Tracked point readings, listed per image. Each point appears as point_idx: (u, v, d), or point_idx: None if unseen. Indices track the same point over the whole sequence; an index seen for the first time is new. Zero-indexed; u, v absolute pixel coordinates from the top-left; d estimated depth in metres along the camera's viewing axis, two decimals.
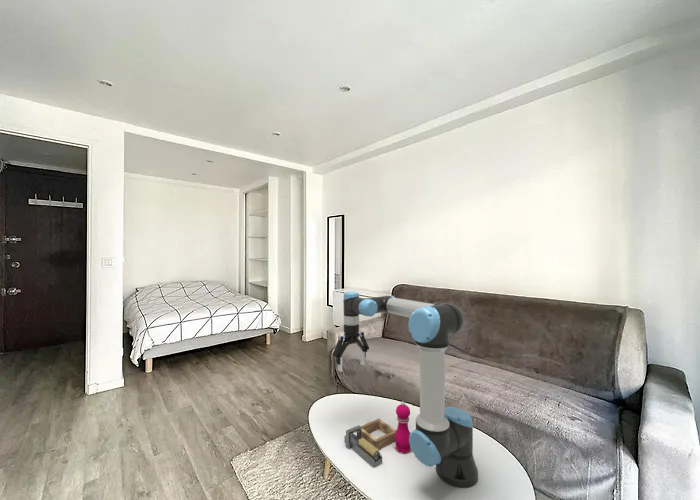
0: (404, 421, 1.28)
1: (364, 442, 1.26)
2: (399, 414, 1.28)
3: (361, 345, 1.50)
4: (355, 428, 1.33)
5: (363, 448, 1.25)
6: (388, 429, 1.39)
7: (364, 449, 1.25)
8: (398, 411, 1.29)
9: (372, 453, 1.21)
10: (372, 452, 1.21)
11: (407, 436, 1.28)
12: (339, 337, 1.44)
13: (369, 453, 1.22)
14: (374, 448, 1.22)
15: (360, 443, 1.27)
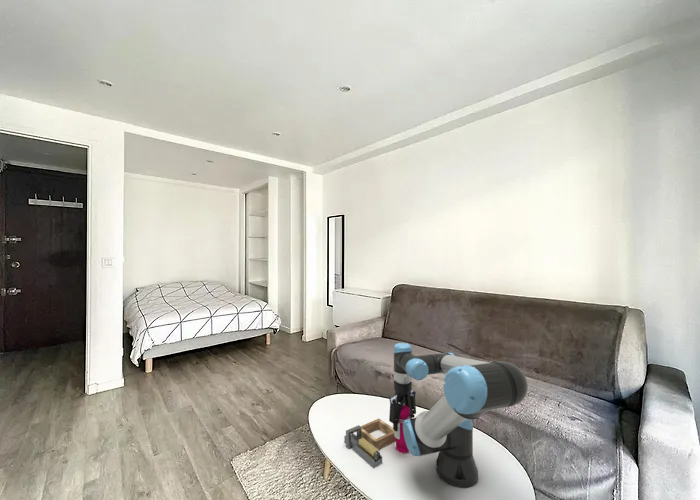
0: None
1: (364, 442, 1.26)
2: None
3: (410, 408, 1.31)
4: (355, 428, 1.33)
5: (363, 448, 1.25)
6: (388, 429, 1.39)
7: (364, 449, 1.25)
8: None
9: (372, 453, 1.21)
10: (372, 452, 1.21)
11: None
12: (391, 401, 1.27)
13: (369, 453, 1.22)
14: (374, 448, 1.22)
15: (360, 443, 1.27)
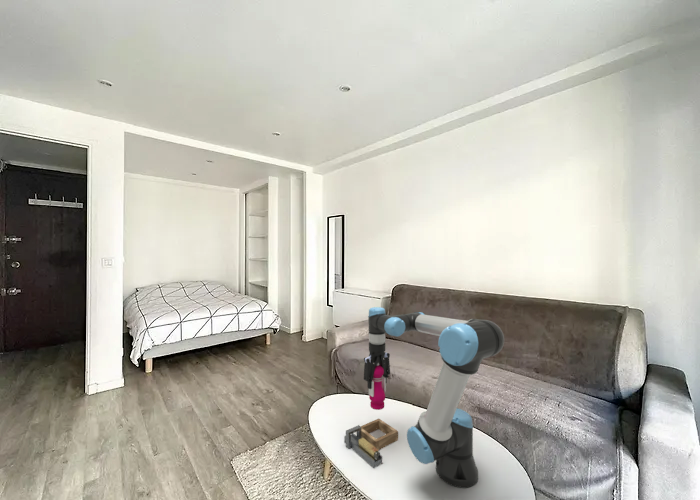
0: (378, 380, 1.35)
1: (364, 442, 1.26)
2: None
3: (384, 368, 1.39)
4: (355, 428, 1.33)
5: (363, 448, 1.25)
6: (388, 429, 1.39)
7: (364, 449, 1.25)
8: None
9: (372, 453, 1.21)
10: (372, 452, 1.21)
11: (380, 394, 1.35)
12: (365, 360, 1.34)
13: (369, 453, 1.22)
14: (374, 448, 1.22)
15: (360, 443, 1.27)
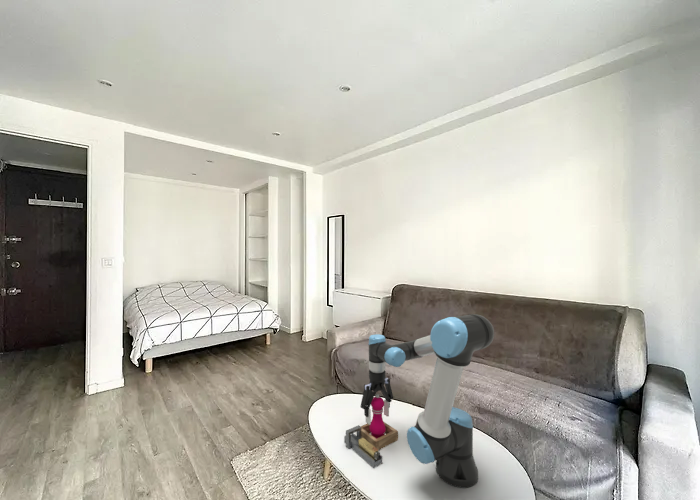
0: (378, 412, 1.35)
1: (364, 442, 1.26)
2: (373, 405, 1.35)
3: (386, 394, 1.39)
4: (355, 428, 1.33)
5: (363, 448, 1.25)
6: (388, 429, 1.39)
7: (364, 449, 1.25)
8: (372, 403, 1.36)
9: (372, 453, 1.21)
10: (372, 452, 1.21)
11: (381, 426, 1.35)
12: (365, 387, 1.34)
13: (369, 453, 1.22)
14: (374, 448, 1.22)
15: (360, 443, 1.27)
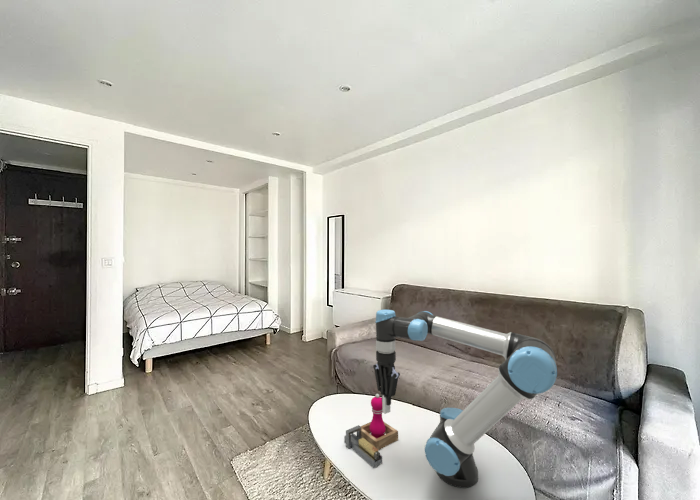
0: (378, 412, 1.35)
1: (364, 442, 1.26)
2: (373, 405, 1.35)
3: (386, 385, 1.16)
4: (355, 428, 1.33)
5: (363, 448, 1.25)
6: (388, 429, 1.39)
7: (364, 449, 1.25)
8: (372, 403, 1.36)
9: (372, 453, 1.21)
10: (372, 452, 1.21)
11: (381, 426, 1.35)
12: None
13: (369, 453, 1.22)
14: (374, 448, 1.22)
15: (360, 443, 1.27)
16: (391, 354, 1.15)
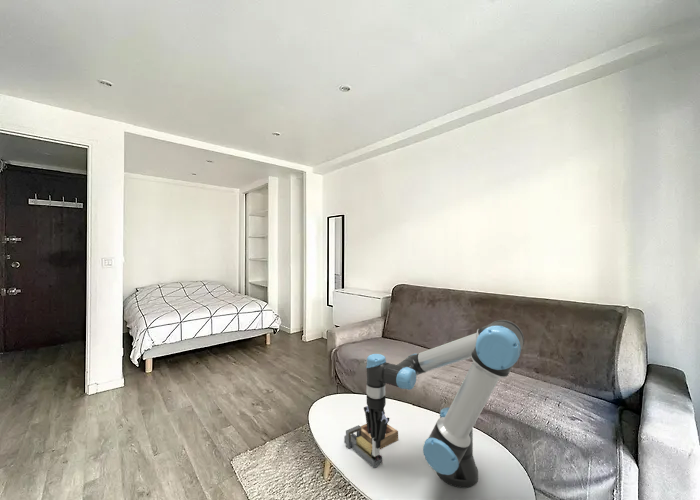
0: None
1: (362, 440, 1.28)
2: None
3: (375, 429, 1.19)
4: (355, 428, 1.33)
5: (361, 446, 1.27)
6: (388, 429, 1.39)
7: (362, 447, 1.26)
8: None
9: (369, 451, 1.22)
10: (369, 450, 1.22)
11: None
12: None
13: (366, 451, 1.24)
14: (371, 446, 1.24)
15: (358, 441, 1.28)
16: (381, 399, 1.18)
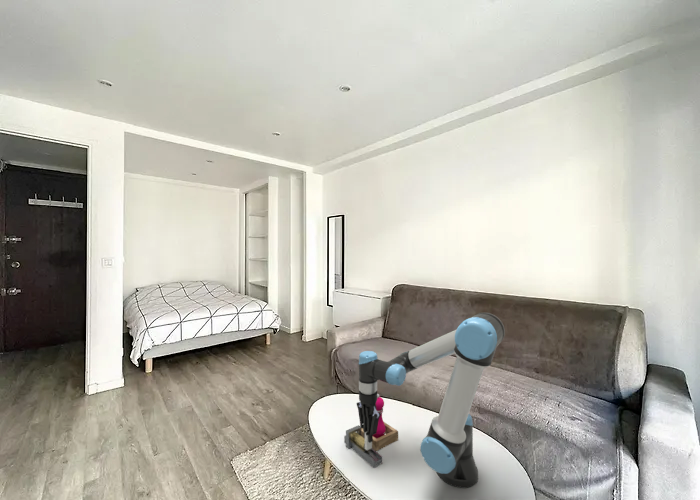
0: (378, 412, 1.35)
1: (355, 434, 1.31)
2: None
3: (368, 423, 1.23)
4: (355, 428, 1.33)
5: (354, 440, 1.31)
6: (388, 429, 1.39)
7: (355, 441, 1.30)
8: None
9: (362, 445, 1.26)
10: (362, 444, 1.26)
11: (381, 426, 1.35)
12: None
13: (359, 445, 1.28)
14: (364, 440, 1.28)
15: (351, 435, 1.32)
16: (373, 395, 1.22)
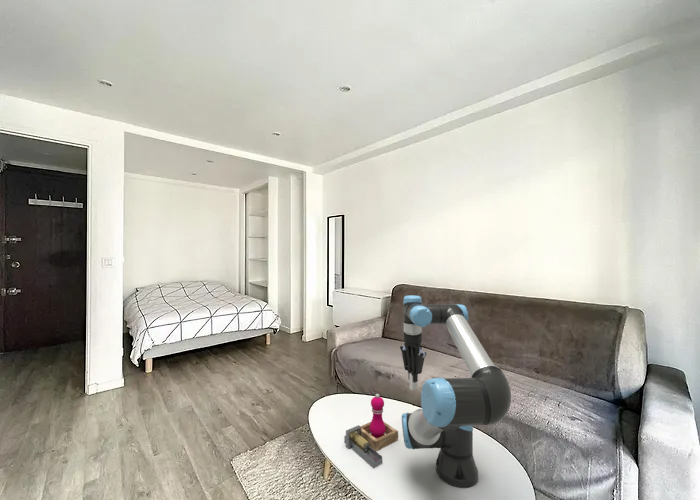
0: (378, 412, 1.35)
1: (355, 434, 1.32)
2: (373, 405, 1.35)
3: (413, 364, 1.27)
4: (355, 428, 1.33)
5: (354, 440, 1.31)
6: (388, 429, 1.39)
7: (354, 441, 1.30)
8: (372, 403, 1.36)
9: (362, 445, 1.26)
10: (362, 444, 1.26)
11: (381, 426, 1.35)
12: None
13: (359, 445, 1.28)
14: (364, 440, 1.28)
15: (351, 435, 1.32)
16: (418, 335, 1.26)
